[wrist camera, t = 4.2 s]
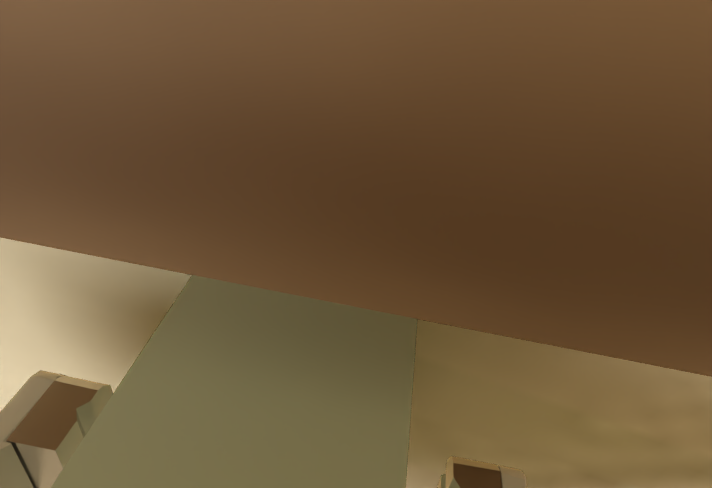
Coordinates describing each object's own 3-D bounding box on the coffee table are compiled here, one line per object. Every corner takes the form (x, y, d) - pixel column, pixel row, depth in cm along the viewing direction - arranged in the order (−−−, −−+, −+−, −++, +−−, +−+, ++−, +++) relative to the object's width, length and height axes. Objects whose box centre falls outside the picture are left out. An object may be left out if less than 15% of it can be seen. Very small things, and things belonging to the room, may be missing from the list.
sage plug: (223, 227, 12) (-91, 698, 5) (421, 265, 12) (383, 814, 5) (229, 360, 15) (32, 780, 8) (388, 393, 15) (333, 856, 8)
